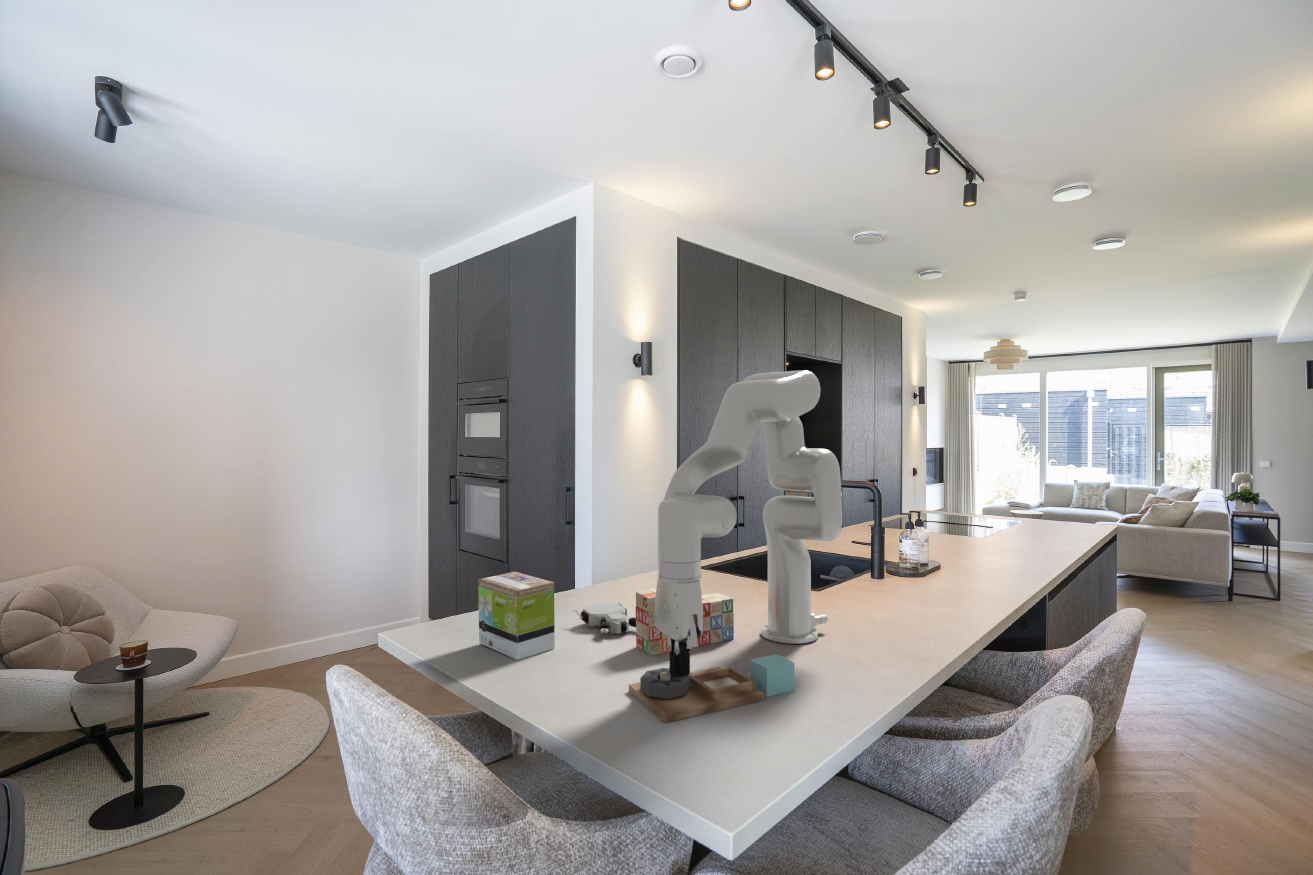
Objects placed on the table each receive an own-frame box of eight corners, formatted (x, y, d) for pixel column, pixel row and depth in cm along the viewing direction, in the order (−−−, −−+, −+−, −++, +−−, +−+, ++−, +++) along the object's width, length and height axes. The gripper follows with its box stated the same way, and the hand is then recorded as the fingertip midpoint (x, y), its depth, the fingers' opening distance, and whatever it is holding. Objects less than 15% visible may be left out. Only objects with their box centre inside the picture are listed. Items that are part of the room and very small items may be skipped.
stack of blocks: (718, 632, 146) (718, 579, 146) (734, 640, 141) (733, 584, 141) (635, 647, 136) (635, 590, 136) (648, 656, 131) (648, 596, 131)
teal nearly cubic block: (777, 681, 117) (777, 654, 117) (794, 690, 113) (794, 662, 113) (750, 686, 115) (750, 659, 115) (767, 697, 110) (766, 668, 110)
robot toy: (648, 636, 147) (618, 616, 160) (648, 617, 147) (618, 598, 159) (600, 645, 140) (573, 623, 153) (601, 625, 140) (573, 605, 153)
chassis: (719, 672, 121) (719, 650, 121) (763, 699, 109) (763, 675, 109) (628, 691, 113) (628, 667, 113) (664, 722, 100) (664, 696, 100)
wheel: (674, 676, 115) (674, 665, 115) (697, 692, 108) (696, 680, 108) (634, 684, 112) (634, 673, 112) (654, 701, 104) (654, 689, 104)
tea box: (476, 645, 138) (476, 577, 138) (515, 634, 146) (515, 570, 146) (517, 661, 128) (516, 588, 128) (556, 649, 136) (556, 580, 136)
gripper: (642, 564, 116) (642, 664, 116) (681, 580, 103) (681, 693, 103) (678, 560, 119) (678, 658, 119) (720, 575, 106) (720, 685, 106)
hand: (679, 674), depth 111 cm, fingers closed
